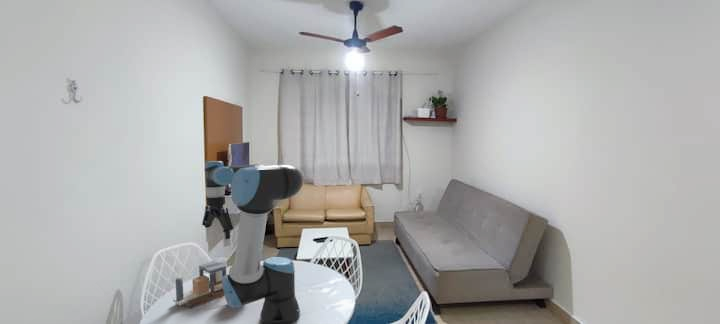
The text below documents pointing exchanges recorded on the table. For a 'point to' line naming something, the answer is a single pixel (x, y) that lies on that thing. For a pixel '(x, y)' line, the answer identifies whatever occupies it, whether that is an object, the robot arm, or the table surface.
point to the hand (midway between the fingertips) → (218, 243)
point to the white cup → (222, 261)
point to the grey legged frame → (214, 286)
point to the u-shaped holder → (199, 289)
